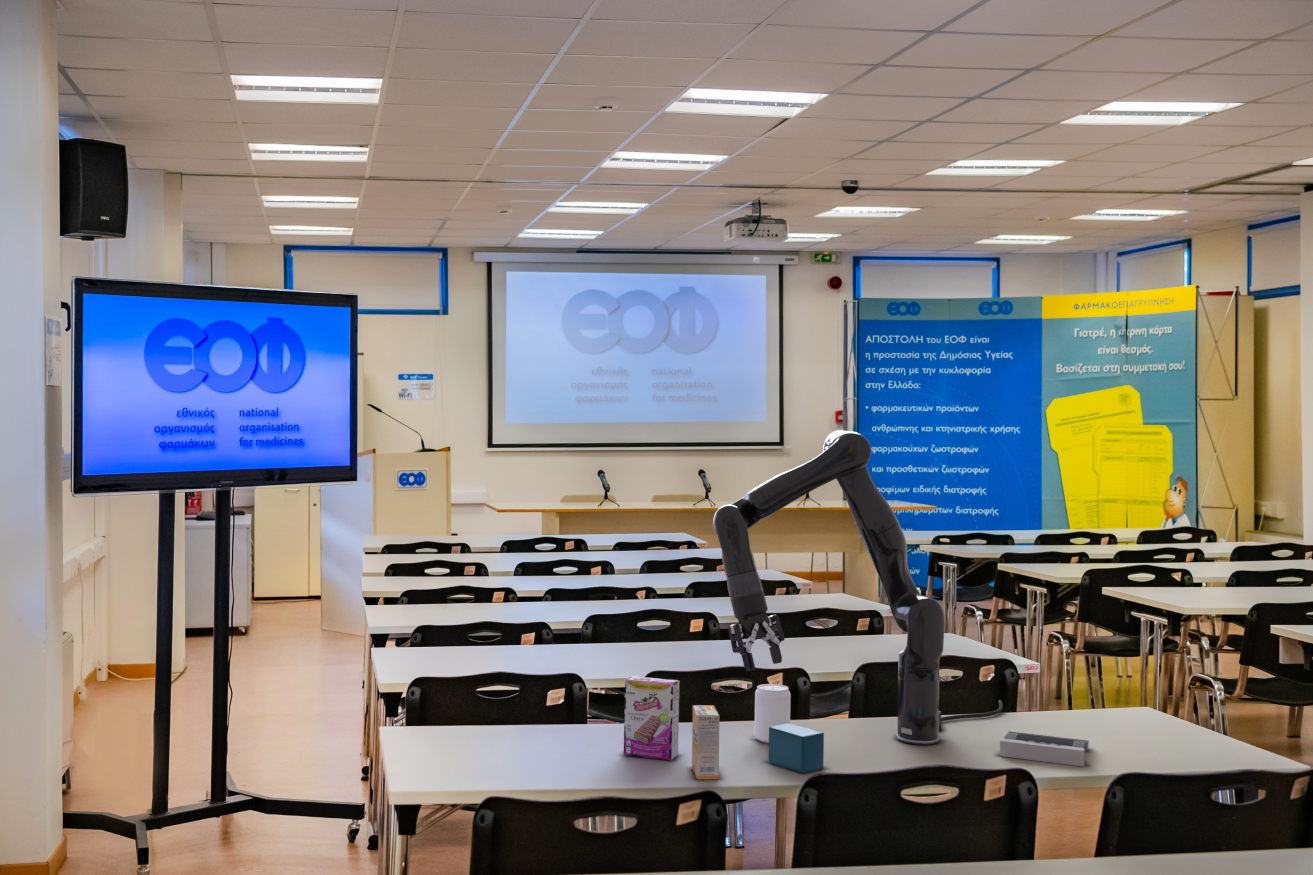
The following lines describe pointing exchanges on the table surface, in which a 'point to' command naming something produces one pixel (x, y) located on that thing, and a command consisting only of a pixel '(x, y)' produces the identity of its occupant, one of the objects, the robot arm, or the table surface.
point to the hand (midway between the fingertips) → (764, 666)
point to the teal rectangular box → (796, 747)
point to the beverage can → (770, 709)
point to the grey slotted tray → (1044, 748)
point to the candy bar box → (651, 717)
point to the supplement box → (705, 742)
